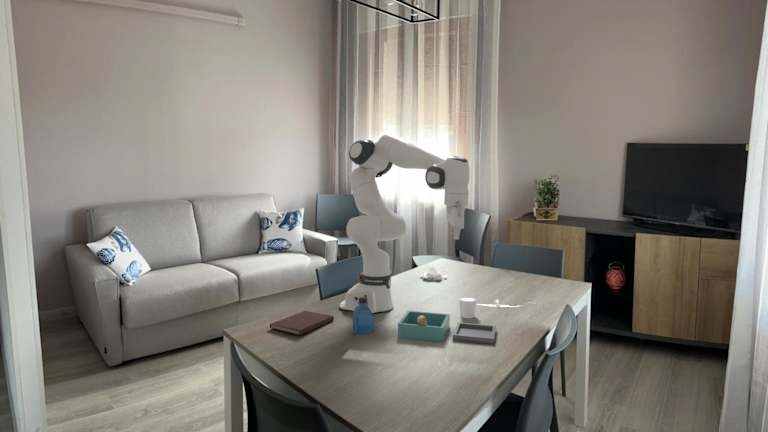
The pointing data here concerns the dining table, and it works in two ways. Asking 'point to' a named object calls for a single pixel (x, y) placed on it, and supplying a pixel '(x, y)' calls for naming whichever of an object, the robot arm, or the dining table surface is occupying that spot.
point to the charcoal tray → (474, 333)
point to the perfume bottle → (362, 318)
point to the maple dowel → (422, 320)
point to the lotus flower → (433, 274)
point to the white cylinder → (467, 307)
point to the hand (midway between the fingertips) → (454, 236)
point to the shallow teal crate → (424, 326)
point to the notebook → (301, 322)
